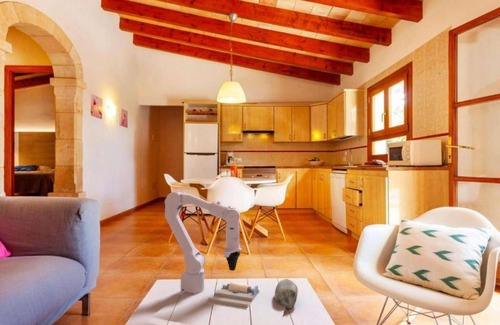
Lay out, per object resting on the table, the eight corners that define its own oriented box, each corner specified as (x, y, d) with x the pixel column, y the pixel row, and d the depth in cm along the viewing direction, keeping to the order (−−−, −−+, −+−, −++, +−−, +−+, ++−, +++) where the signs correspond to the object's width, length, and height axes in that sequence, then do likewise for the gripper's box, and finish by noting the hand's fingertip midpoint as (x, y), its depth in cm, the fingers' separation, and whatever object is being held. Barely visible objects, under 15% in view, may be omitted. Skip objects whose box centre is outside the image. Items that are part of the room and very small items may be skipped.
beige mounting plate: (206, 307, 114) (206, 295, 114) (224, 289, 131) (224, 279, 131) (245, 313, 109) (246, 301, 109) (259, 294, 126) (260, 283, 126)
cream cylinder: (225, 291, 123) (226, 282, 124) (229, 290, 127) (229, 281, 128) (248, 295, 120) (249, 285, 121) (251, 294, 123) (252, 284, 124)
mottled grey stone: (302, 303, 110) (290, 277, 113) (278, 314, 110) (267, 287, 114) (304, 298, 122) (293, 274, 126) (283, 307, 123) (273, 283, 127)
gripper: (235, 242, 118) (234, 276, 117) (247, 234, 132) (246, 265, 131) (218, 240, 120) (218, 274, 120) (232, 233, 134) (231, 264, 133)
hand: (232, 270), depth 126 cm, fingers closed
